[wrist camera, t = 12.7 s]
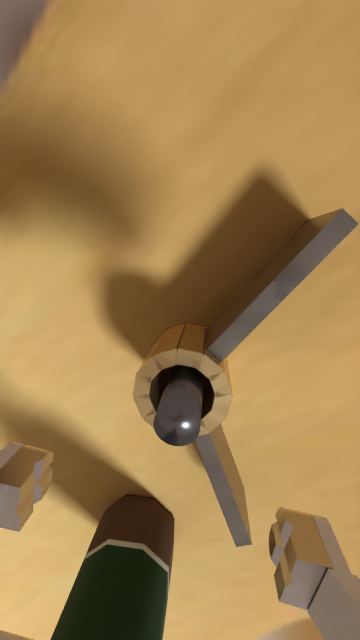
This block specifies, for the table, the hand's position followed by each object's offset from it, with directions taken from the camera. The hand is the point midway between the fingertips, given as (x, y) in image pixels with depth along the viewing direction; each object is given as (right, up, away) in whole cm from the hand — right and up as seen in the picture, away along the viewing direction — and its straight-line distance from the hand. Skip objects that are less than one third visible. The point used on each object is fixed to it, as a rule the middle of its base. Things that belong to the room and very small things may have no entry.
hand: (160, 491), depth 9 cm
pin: (+2, +3, +13) cm, 13 cm away
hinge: (+7, +2, +12) cm, 14 cm away
